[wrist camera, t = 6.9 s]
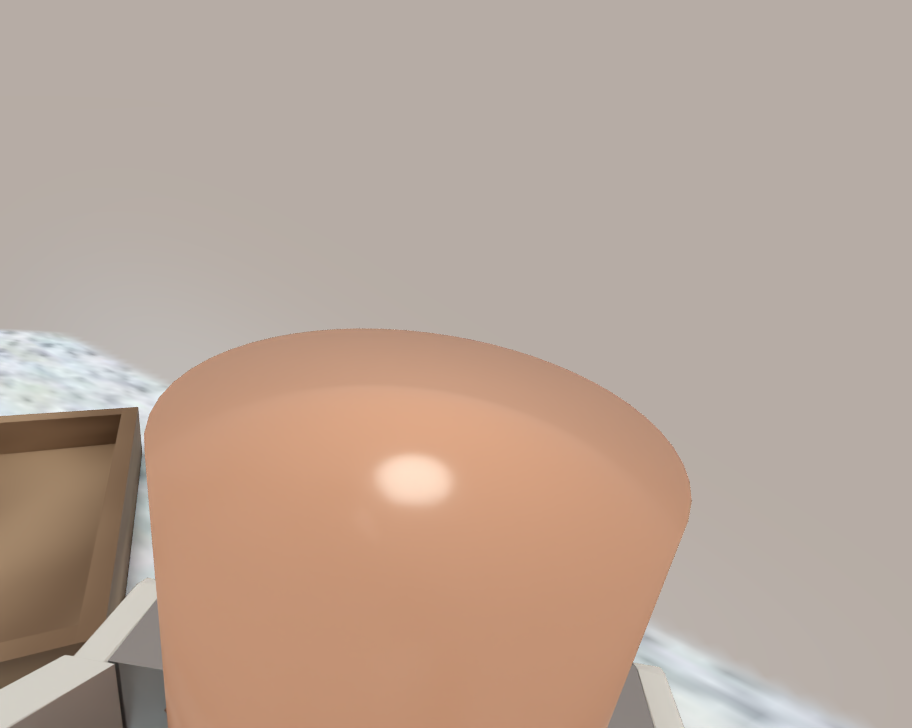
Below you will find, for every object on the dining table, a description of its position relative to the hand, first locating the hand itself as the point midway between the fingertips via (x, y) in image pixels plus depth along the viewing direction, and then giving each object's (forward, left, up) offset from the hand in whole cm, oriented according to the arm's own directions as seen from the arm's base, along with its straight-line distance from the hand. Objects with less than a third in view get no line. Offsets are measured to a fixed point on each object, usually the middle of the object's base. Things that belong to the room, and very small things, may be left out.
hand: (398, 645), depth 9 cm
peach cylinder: (0, -1, -7) cm, 7 cm away
